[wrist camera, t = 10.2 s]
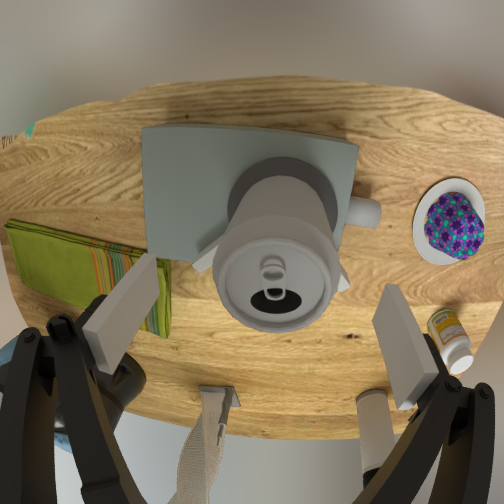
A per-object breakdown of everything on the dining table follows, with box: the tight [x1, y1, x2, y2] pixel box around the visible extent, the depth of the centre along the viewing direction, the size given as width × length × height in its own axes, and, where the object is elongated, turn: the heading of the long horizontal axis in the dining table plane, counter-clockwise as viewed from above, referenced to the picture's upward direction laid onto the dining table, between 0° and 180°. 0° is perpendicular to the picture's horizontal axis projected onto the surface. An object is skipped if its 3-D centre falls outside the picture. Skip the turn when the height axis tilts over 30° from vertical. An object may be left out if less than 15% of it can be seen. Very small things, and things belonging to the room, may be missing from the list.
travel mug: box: [356, 389, 395, 489], centre depth 39 cm, size 6×7×20 cm
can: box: [213, 175, 341, 333], centre depth 20 cm, size 8×8×12 cm
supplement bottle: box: [427, 309, 473, 374], centre depth 33 cm, size 5×5×10 cm
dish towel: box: [3, 220, 171, 339], centre depth 41 cm, size 15×36×3 cm, turn 81°
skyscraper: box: [168, 385, 241, 504], centre depth 40 cm, size 8×8×28 cm
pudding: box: [413, 178, 485, 265], centre depth 28 cm, size 12×12×5 cm
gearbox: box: [142, 123, 381, 293], centre depth 28 cm, size 24×14×8 cm, turn 86°
